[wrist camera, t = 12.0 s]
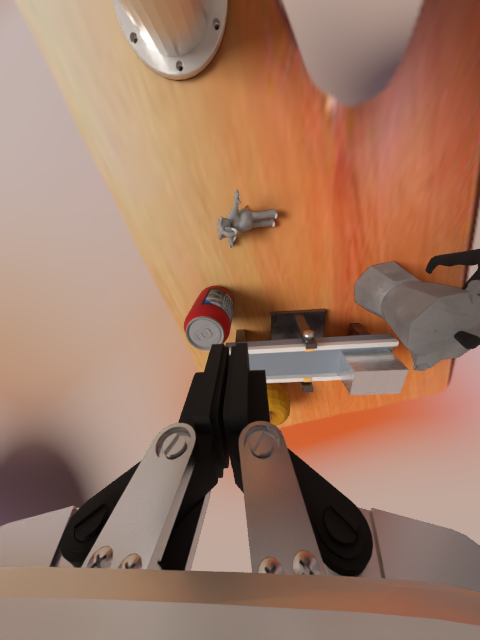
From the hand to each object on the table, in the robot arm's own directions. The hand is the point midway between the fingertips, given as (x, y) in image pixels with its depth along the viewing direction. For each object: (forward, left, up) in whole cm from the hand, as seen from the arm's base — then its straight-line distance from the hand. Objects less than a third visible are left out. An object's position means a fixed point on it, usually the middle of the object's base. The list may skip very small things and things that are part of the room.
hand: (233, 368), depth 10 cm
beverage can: (+8, -6, -29) cm, 31 cm away
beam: (+16, +9, -22) cm, 28 cm away
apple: (+30, +3, -29) cm, 42 cm away
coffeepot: (+6, +24, -29) cm, 38 cm away
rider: (+16, +18, -20) cm, 31 cm away
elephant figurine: (-6, 0, -29) cm, 30 cm away
